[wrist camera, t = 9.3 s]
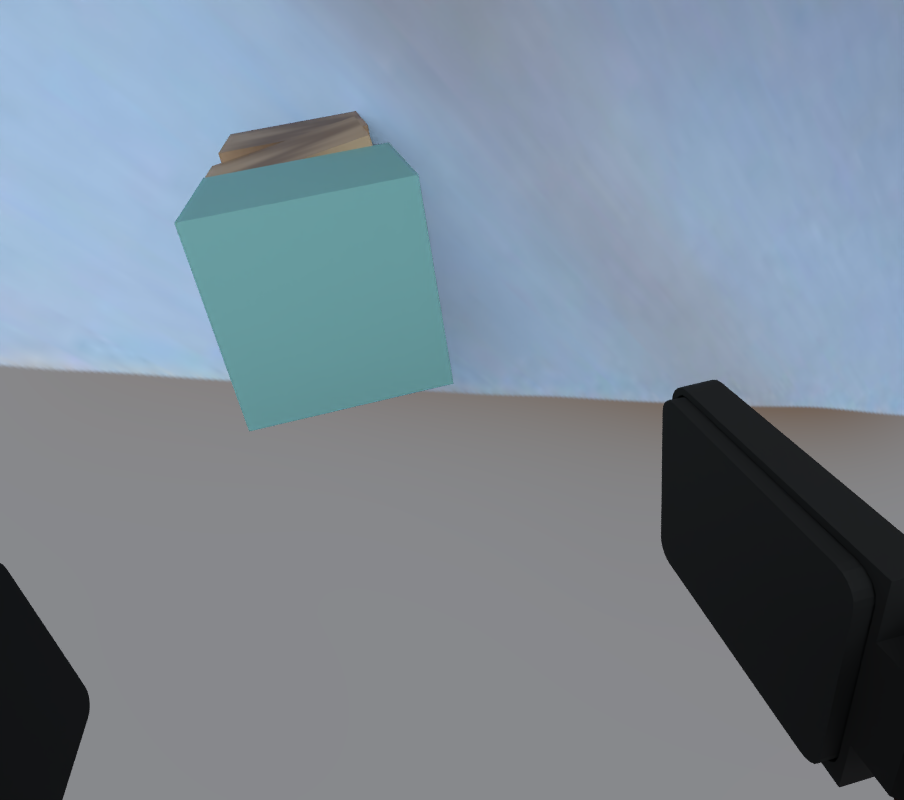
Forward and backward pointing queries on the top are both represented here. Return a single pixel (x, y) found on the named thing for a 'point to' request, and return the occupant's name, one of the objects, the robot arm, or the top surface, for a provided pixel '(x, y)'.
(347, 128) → the tower mid
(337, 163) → the teal block
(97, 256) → the top surface
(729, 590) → the robot arm
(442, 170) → the top surface
